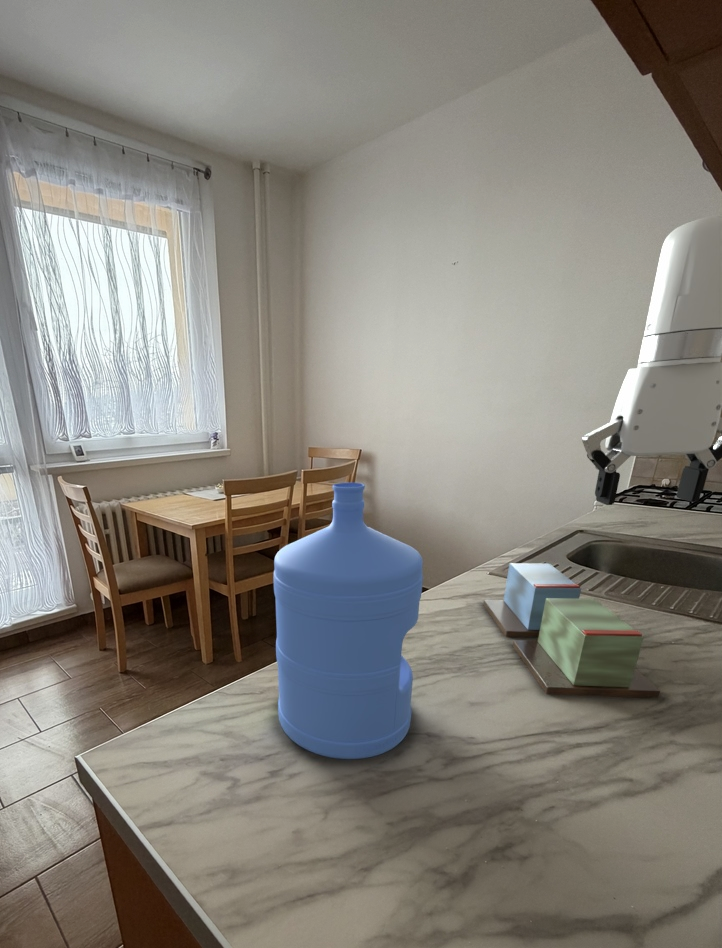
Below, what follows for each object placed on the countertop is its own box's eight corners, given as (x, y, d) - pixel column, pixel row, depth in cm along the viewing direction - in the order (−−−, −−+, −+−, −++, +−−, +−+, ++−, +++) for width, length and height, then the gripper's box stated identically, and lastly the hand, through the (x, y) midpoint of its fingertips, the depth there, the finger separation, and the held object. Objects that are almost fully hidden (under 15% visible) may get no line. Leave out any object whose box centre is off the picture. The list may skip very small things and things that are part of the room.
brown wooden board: (604, 651, 71) (606, 642, 71) (657, 701, 59) (660, 691, 59) (511, 648, 73) (513, 639, 72) (545, 697, 61) (547, 687, 61)
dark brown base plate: (558, 608, 86) (560, 600, 85) (594, 641, 74) (596, 632, 74) (482, 607, 88) (483, 599, 87) (505, 639, 76) (506, 631, 75)
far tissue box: (503, 600, 86) (509, 561, 83) (542, 601, 85) (549, 562, 83) (527, 629, 75) (535, 586, 72) (572, 630, 74) (581, 586, 72)
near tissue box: (537, 641, 72) (546, 596, 69) (584, 642, 71) (595, 597, 68) (573, 685, 61) (585, 633, 58) (629, 687, 60) (644, 635, 57)
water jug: (313, 781, 49) (312, 507, 38) (260, 700, 63) (248, 481, 52) (438, 740, 54) (468, 488, 44) (364, 674, 68) (373, 470, 57)
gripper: (738, 349, 58) (699, 493, 64) (583, 359, 60) (560, 498, 66) (794, 342, 51) (743, 505, 57) (616, 354, 53) (587, 510, 59)
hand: (645, 501), depth 62 cm, fingers open, 9 cm apart
